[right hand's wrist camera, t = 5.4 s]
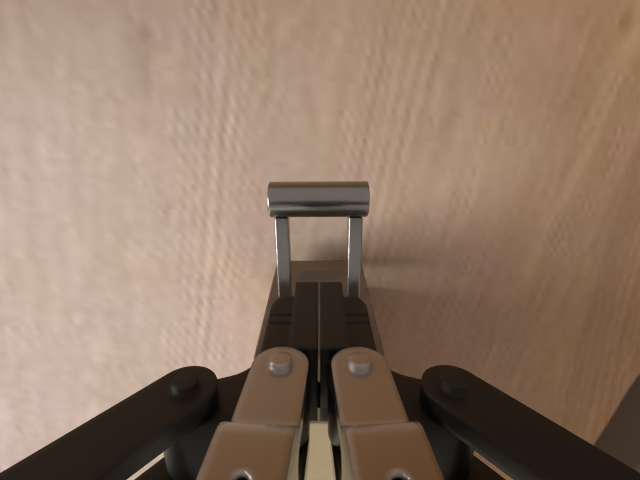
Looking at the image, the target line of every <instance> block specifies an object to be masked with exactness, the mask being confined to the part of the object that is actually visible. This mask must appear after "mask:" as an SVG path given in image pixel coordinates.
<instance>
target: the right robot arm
mask: <svg viewBox="0 0 640 480" xmlns="http://www.w3.org/2000/svg"><path fill="white" fill-rule="evenodd" d="M310 421H318V282H296V288H295V295H294V296H280V297H279V298H278V299H277V300H276V301H275V302H274V303H273V304H272V306H271V310H270V314H269V318H268V324H267V327H266V331H265V336H264V340H263V344H262V349H261V353H260V354H259V355H258V356H257V357H256V358H255V359H254V361H253V363H252V365H251V367H250V368H249V369H247V370H246V371H244V372H242V373H239V374H237V375H233V376H229V377H225V378H221V379H217V377H216V375H215V374H214V372H213V371H211V370H210V369H208V368H205V367H201V366H188V367H183V368H180V369H177V370H174V371H172V372H170V373H168V374H167V375H165V376H163V377H162V378H160V379H158V380H157V381H155V382H153V383H152V384H150V385H148V386H147V387H145V388H143V389H141V390H140V391H138V392H136V393H135V394H133V395H131V396H130V397H128V398H126V399H125V400H123V401H121V402H119V403H118V404H116V405H114V406H113V407H111V408H109V409H108V410H106V411H104V412H103V413H101V414H99V415H98V416H96V417H94V418H92V419H91V420H89V421H87V422H86V423H84V424H82V425H81V426H79V427H77V428H76V429H74V430H72V431H71V432H69V433H67V434H65V435H64V436H62V437H60V438H59V439H57V440H55V441H54V442H52V443H50V444H49V445H47V446H45V447H43V448H42V449H40V450H38V451H37V452H35V453H33V454H32V455H30V456H28V457H27V458H25V459H23V460H22V461H20V462H18V463H16V464H15V465H13V466H11V467H10V468H8V469H6V470H5V471H3V472H1V473H0V480H127V479H128V478H129V477H131V476H132V475H133V474H134V473H136V472H137V471H138V470H140V469H141V468H142V467H144V466H145V465H146V464H148V463H149V462H150V461H152V460H153V459H154V458H156V457H157V456H158V455H160V454H161V453H162V452H164V458H162V459H161V460H160V461H158V462H157V463H156V464H154V465H153V466H152V467H150V468H149V469H148V470H146V471H145V472H144V473H143V474H141V475H140V476H139V477H137V478H136V479H135V480H306V476H307V468H308V459H309V450H310V436H309V431H310ZM320 421H328V436H329V439H330V450H331V459H332V468H333V476H334V480H505V479H504V478H503V477H501V476H500V475H499V474H497V473H496V472H495V471H493V470H492V469H491V468H490V467H488V466H487V465H486V464H484V463H483V462H482V461H480V460H479V459H478V458H476V457H475V456H474V455H473V453H474V450H475V451H476V452H478V453H479V454H480V455H482V456H483V457H484V458H486V459H487V460H488V461H490V462H491V463H492V464H494V465H495V466H496V467H498V468H499V469H500V470H501V471H503V472H504V473H505V474H507V475H508V476H509V477H511V478H512V479H513V480H640V473H639V472H637V471H635V470H634V469H632V468H630V467H629V466H627V465H625V464H624V463H622V462H620V461H618V460H617V459H615V458H613V457H612V456H610V455H608V454H607V453H605V452H603V451H602V450H600V449H598V448H596V447H595V446H593V445H591V444H590V443H588V442H586V441H585V440H583V439H581V438H580V437H578V436H576V435H575V434H573V433H571V432H569V431H568V430H566V429H564V428H563V427H561V426H559V425H558V424H556V423H554V422H553V421H551V420H549V419H548V418H546V417H544V416H542V415H541V414H539V413H537V412H536V411H534V410H532V409H531V408H529V407H527V406H526V405H524V404H522V403H520V402H519V401H517V400H515V399H514V398H512V397H510V396H509V395H507V394H505V393H504V392H502V391H500V390H499V389H497V388H495V387H493V386H492V385H490V384H488V383H487V382H485V381H483V380H482V379H480V378H478V377H477V376H475V375H473V374H472V373H470V372H468V371H466V370H464V369H461V368H458V367H455V366H449V365H439V366H434V367H431V368H429V369H427V370H426V371H425V372H424V374H423V375H422V380H420V379H416V378H412V377H408V376H404V375H400V374H398V373H395V372H393V371H391V370H390V368H389V365H388V363H387V361H386V359H385V358H384V357H383V356H382V355H381V354H380V353H378V352H377V350H376V346H375V341H374V337H373V333H372V328H371V324H370V319H369V316H368V310H367V306H366V304H365V303H364V302H363V301H362V300H361V299H360V298H359V297H344V296H343V287H342V282H320Z"/></svg>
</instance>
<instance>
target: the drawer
mask: <svg viewBox="0 0 640 480" xmlns="http://www.w3.org/2000/svg"><path fill="white" fill-rule="evenodd" d="M267 202H268V212H269V216H270V217H275V238H276V258H277V266H276V270H275V274H274V278H273V282H272V286H271V290H270V294H269V298H268V302H267V306H266V310H265V314H264V318H263V323H262V327H261V331H260V335H259V339H258V343H257V347H256V351H255V355H254V359H255V358H256V357H257V356H258V355H259V354H260V353H261V349H262V344H263V340H264V336H265V331H266V327H267V324H268V318H269V314H270V310H271V306H272V304H273V303H274V302H275V301H276V300H277V299H278V298H279V297H280V296H294V295H295V288H296V282H318V408H320V282H342V287H343V296H344V297H359V298H360V299H361V300H362V301H363V302H364V303H365V304H366V306H367V310H368V316H369V319H370V324H371V328H372V333H373V337H374V341H375V346H376V350H377V352H378V353H380V354H381V355H382V356H383V357H384V358H385V356H384V352H383V348H382V344H381V340H380V336H379V332H378V328H377V324H376V320H375V316H374V312H373V308H372V305H371V301H370V297H369V293H368V289H367V285H366V281H365V277H364V273H363V269H362V265H361V250H362V223H363V219H362V217H366V216H368V213H369V202H370V194H369V184H368V182H366V181H353V182H269V184H268V192H267ZM289 217H348V237H347V261H291V252H290V223H289Z"/></svg>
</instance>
